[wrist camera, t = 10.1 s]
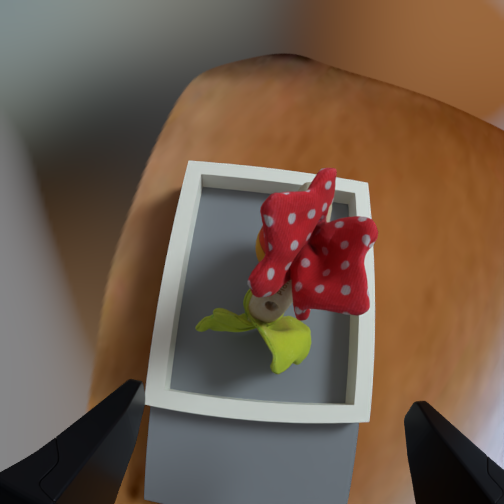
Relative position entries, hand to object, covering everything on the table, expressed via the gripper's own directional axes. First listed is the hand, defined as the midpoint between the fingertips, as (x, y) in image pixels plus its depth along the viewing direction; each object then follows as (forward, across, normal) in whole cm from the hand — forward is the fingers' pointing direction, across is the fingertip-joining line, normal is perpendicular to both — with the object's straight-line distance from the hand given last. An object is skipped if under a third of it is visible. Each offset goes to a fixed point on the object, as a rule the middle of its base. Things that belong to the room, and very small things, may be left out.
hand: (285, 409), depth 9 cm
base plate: (+9, 0, +5) cm, 11 cm away
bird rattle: (+10, 0, +2) cm, 10 cm away
